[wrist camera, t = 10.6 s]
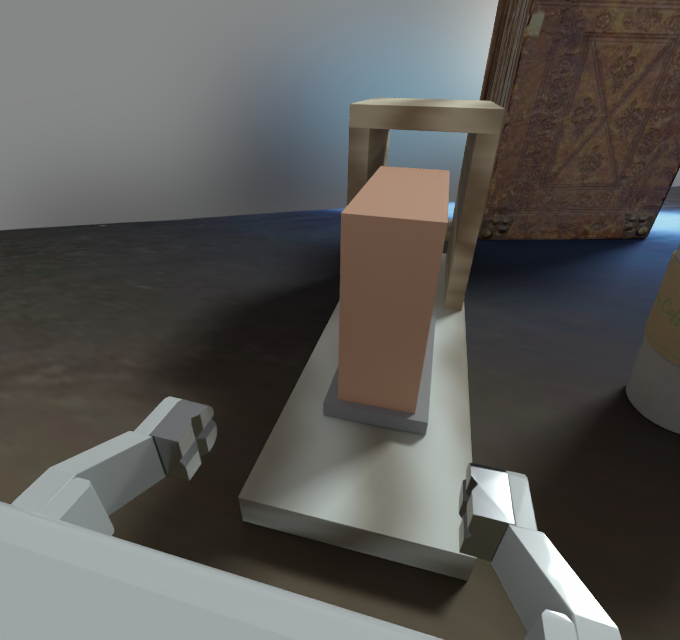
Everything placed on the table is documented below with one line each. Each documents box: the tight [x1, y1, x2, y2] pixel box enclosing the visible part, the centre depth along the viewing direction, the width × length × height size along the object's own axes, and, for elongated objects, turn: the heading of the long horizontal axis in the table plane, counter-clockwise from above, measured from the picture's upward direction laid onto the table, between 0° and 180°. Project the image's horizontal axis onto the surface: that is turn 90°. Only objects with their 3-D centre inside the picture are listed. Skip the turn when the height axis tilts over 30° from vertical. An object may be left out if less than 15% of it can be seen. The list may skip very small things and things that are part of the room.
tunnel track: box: [238, 98, 505, 581], centre depth 32 cm, size 11×44×18 cm, turn 166°
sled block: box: [323, 166, 449, 435], centre depth 24 cm, size 6×12×12 cm, turn 166°
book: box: [478, 0, 680, 240], centre depth 51 cm, size 25×9×30 cm, turn 93°
